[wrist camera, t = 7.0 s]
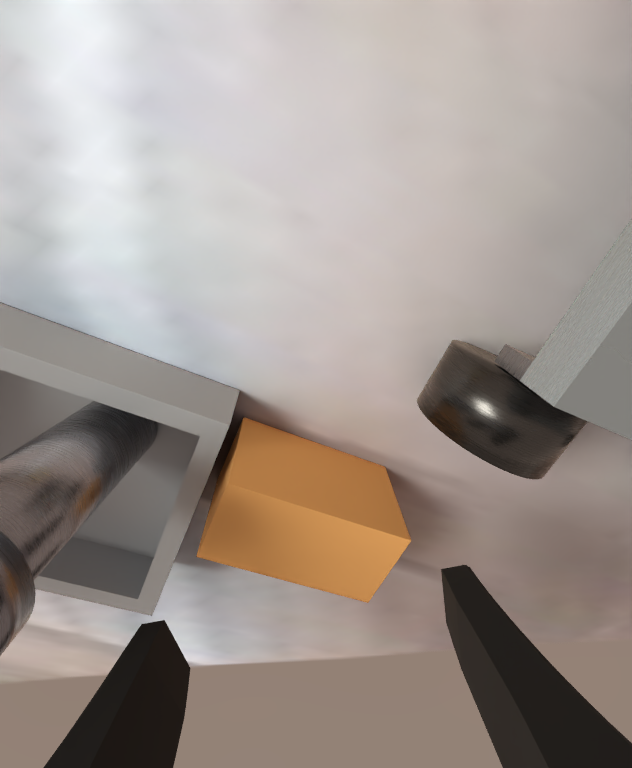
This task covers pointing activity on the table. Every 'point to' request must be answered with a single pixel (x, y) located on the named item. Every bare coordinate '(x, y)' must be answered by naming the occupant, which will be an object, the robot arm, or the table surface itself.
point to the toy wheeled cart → (544, 380)
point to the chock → (304, 514)
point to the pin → (58, 495)
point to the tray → (147, 477)
